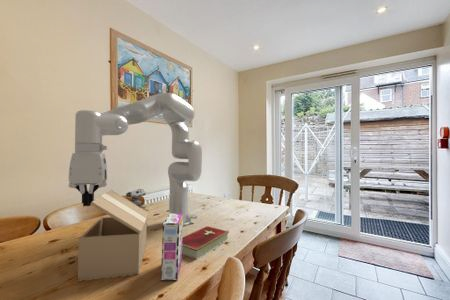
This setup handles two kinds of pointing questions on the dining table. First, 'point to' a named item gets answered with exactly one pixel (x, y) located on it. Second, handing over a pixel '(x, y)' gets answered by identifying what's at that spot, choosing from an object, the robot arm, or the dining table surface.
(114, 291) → the dining table surface
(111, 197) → the carton lid
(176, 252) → the candy bar box
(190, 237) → the hardcover book
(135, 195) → the figurine
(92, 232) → the carton
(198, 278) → the dining table surface
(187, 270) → the dining table surface
